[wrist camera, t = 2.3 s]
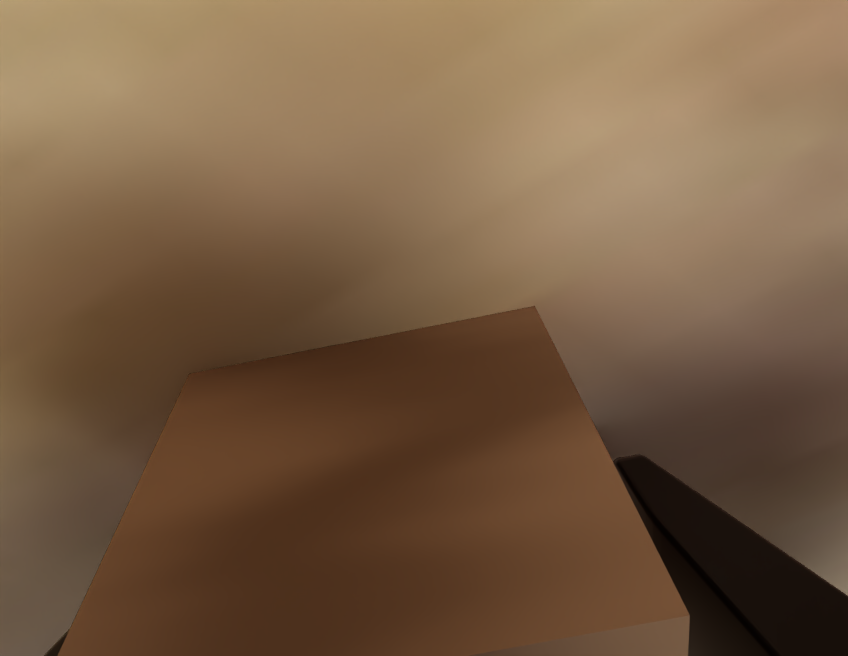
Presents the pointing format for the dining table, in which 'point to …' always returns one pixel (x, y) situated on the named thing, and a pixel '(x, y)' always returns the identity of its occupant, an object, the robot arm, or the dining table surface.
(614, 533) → the walnut cube
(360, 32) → the dining table surface
